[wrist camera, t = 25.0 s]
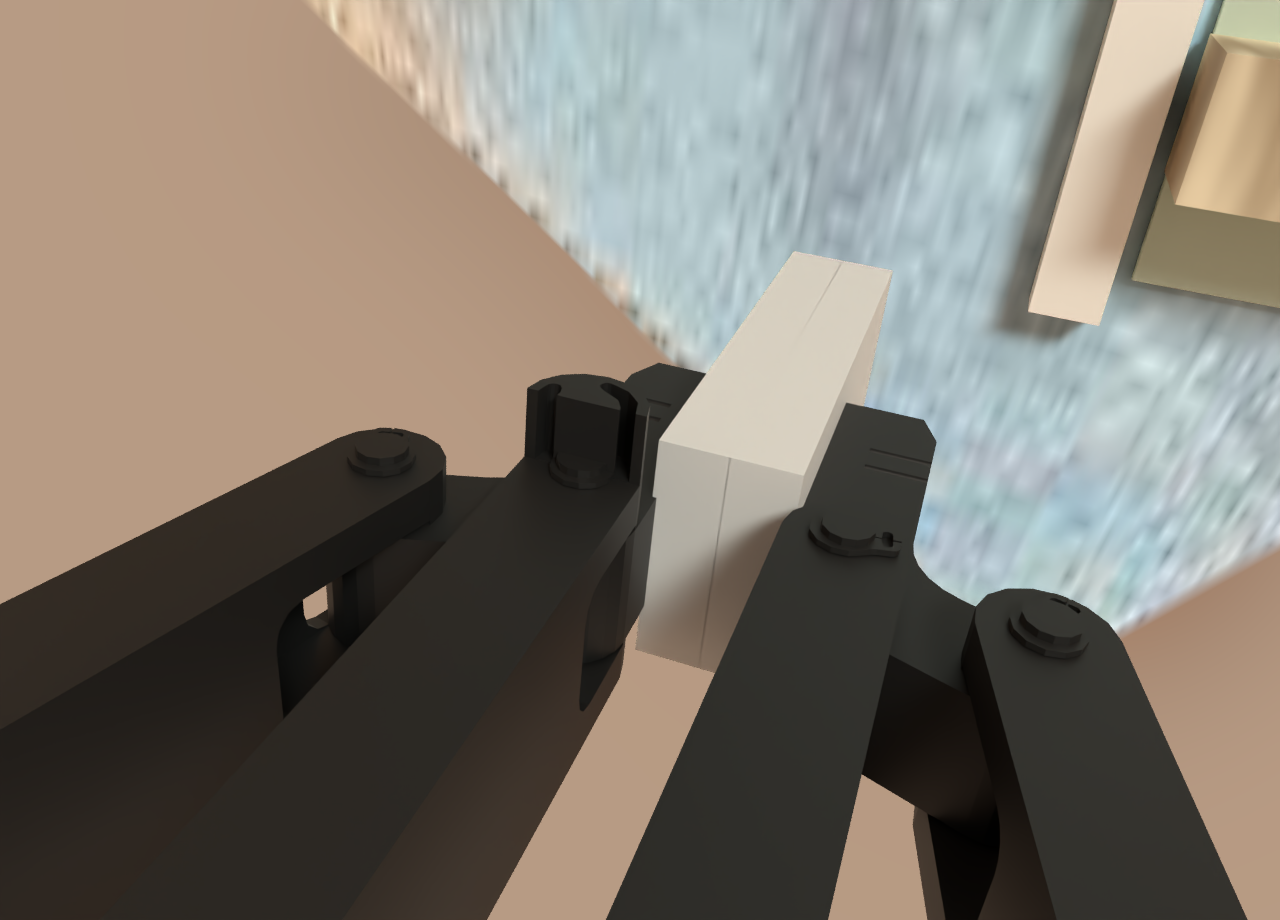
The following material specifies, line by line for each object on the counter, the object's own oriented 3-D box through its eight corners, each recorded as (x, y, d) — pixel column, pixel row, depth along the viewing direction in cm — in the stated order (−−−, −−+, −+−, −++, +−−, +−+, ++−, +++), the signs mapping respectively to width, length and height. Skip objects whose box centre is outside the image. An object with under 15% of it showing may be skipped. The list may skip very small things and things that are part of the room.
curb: (1029, 297, 42) (1028, 311, 40) (1147, -118, 35) (1150, -117, 33) (1097, 310, 41) (1099, 325, 40) (1232, -109, 34) (1239, -108, 33)
